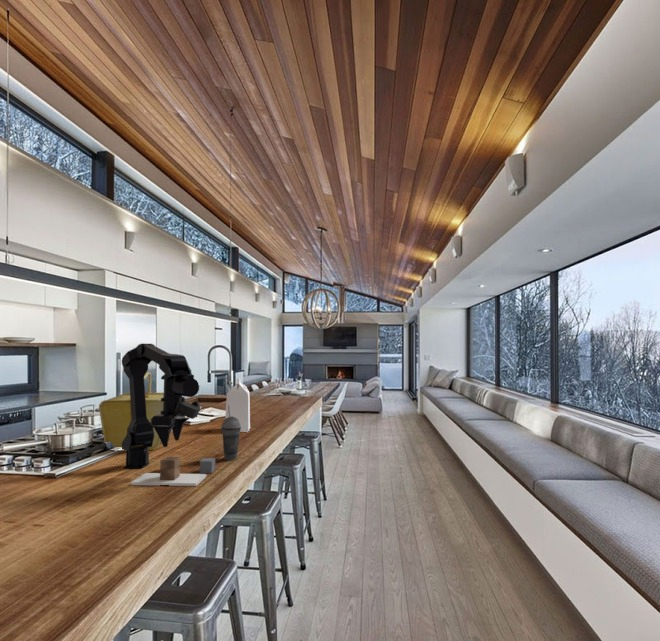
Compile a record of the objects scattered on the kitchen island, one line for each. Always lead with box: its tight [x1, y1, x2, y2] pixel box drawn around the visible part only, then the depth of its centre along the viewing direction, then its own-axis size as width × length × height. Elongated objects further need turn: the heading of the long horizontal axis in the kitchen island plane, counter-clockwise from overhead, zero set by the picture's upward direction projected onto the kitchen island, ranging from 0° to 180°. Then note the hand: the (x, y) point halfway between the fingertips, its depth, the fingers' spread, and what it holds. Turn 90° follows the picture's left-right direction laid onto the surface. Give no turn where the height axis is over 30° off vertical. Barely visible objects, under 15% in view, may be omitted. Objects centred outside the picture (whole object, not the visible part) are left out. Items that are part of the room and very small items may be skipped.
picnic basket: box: [98, 371, 173, 451], centre depth 194 cm, size 29×26×30 cm
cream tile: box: [130, 472, 207, 487], centre depth 141 cm, size 20×10×1 cm, turn 88°
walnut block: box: [159, 456, 181, 480], centre depth 142 cm, size 4×4×6 cm
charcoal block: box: [199, 457, 216, 474], centre depth 152 cm, size 4×4×4 cm
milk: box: [224, 377, 251, 433], centre depth 227 cm, size 12×12×26 cm
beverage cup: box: [220, 405, 241, 461], centre depth 170 cm, size 7×7×20 cm
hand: (171, 443), depth 145 cm, fingers open, 9 cm apart
